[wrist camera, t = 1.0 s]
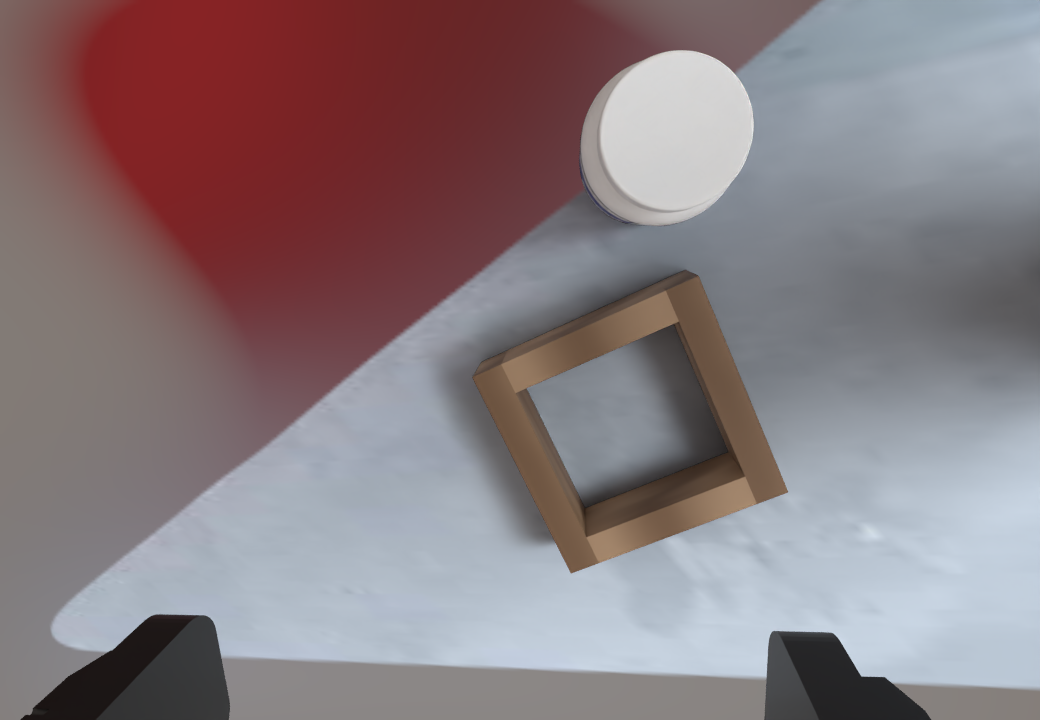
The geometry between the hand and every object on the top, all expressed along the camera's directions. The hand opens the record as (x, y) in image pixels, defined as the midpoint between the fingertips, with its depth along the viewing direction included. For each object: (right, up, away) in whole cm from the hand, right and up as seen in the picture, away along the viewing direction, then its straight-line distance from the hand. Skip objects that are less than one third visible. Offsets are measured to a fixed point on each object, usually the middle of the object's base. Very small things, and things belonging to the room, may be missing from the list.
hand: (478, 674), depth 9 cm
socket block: (+6, +2, +22) cm, 23 cm away
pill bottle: (+6, +14, +20) cm, 25 cm away
